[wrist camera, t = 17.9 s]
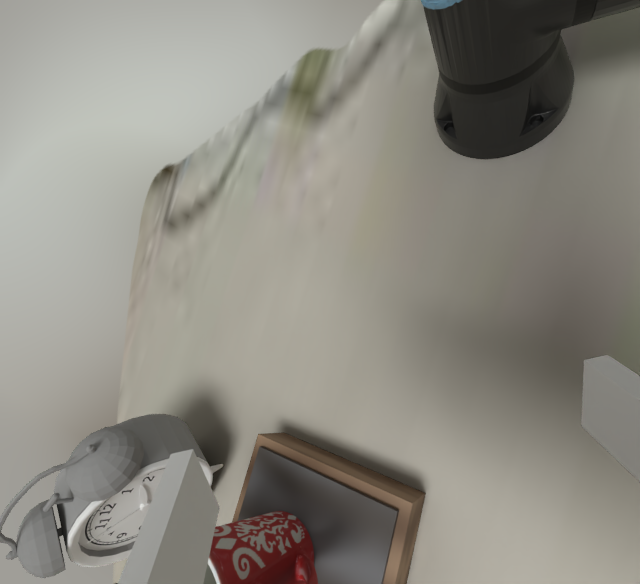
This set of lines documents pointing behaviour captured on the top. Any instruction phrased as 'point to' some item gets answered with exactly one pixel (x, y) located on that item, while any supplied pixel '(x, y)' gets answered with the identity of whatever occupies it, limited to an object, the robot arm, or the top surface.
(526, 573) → the top surface
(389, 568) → the walnut stand
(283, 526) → the mug
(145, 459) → the alarm clock
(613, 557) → the top surface
